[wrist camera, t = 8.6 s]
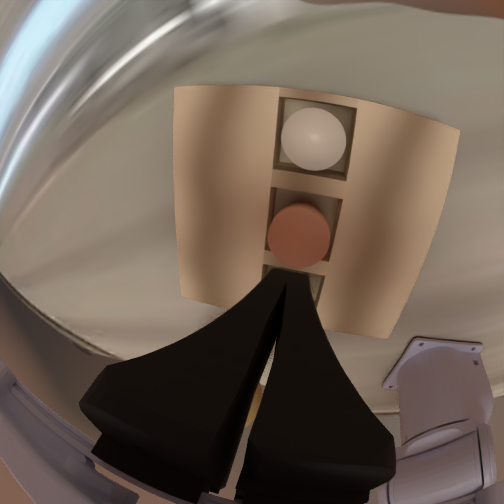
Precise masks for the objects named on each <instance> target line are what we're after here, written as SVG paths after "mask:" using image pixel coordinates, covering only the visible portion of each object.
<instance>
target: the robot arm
mask: <svg viewBox="0 0 504 504" xmlns="http://www.w3.org/2000/svg"><path fill="white" fill-rule="evenodd" d="M276 337H277V339H276ZM275 340H276V345H275V352H274V358H273V363H272V366H271V370H270V373H269V377H268V380H267V383H266V386H265V390H264V393H263V396H262V399H261V402H260V405H259V408H258V411H257V414H256V417H255V420H254V423H253V426H252V429H251V432H250V435H249V437H248V443H247V448H246V453H245V459H244V464H243V467H242V471H241V473H240V476H239V479H238V482H237V485H236V494H235V497H234V501H233V500H229V499H225V498H222V497H218V496H214V495H211V494H208V493H209V491H210V492H213V493H216V494H218V493H219V491H220V489H222V488H224V487H225V486H226V483H227V480H228V477H229V474H230V471H231V468H232V465H233V462H234V459H235V455H236V452H237V449H238V446H239V443H240V440H241V437H242V433H243V430H244V427H245V424H246V421H247V417H248V414H249V411H250V408H251V404H252V401H253V398H254V394H255V392H256V389H257V386H258V383H259V381H260V379H261V376H262V374H263V371H264V369H265V366H266V364H267V361H268V358H269V356H270V353H271V351H272V348H273V345H274V343H275ZM482 349H483V345H482V344H479V343H466V342H454V341H444V340H434V339H425V338H415V339H413V340H412V341H411V343H410V345H409V346H408V348H407V349H406V351H405V353H404V354H403V356H402V357H401V359H400V360H399V362H398V363H397V365H396V366H395V367H394V369H393V370H392V372H391V373H390V375H389V376H388V377H387V379H386V380H385V381H384V383H383V385H382V386H383V388H384V389H394V390H398V396H399V410H400V431H401V446H400V447H398V448H395V443H394V437H393V435H392V434H391V433H390V432H389V431H388V430H387V429H386V428H385V426H384V425H383V424H382V423H381V422H380V421H379V420H378V418H377V417H376V416H375V415H374V414H373V412H372V411H371V410H370V409H369V407H368V406H367V405H366V403H365V402H364V400H363V399H362V398H361V396H360V395H359V393H358V392H357V390H356V389H355V387H354V386H353V384H352V383H351V381H350V380H349V378H348V376H347V375H346V373H345V372H344V370H343V368H342V366H341V365H340V363H339V361H338V359H337V357H336V355H335V353H334V351H333V349H332V347H331V345H330V343H329V341H328V339H327V336H326V334H325V332H324V329H323V327H322V324H321V321H320V319H319V316H318V313H317V310H316V307H315V303H314V300H313V296H312V292H311V287H310V279H309V276H308V275H307V274H302V273H297V272H292V271H286V270H281V269H276V268H273V269H271V270H270V271H269V272H268V273H267V274H266V276H265V277H264V278H263V279H262V280H261V281H260V282H259V283H258V284H257V285H256V286H255V287H254V288H253V289H252V290H251V291H250V292H249V293H248V294H247V295H246V296H245V297H244V298H242V299H241V300H240V301H239V302H238V303H236V304H235V305H234V306H233V307H231V308H230V309H229V310H228V311H226V312H225V313H224V314H222V315H221V316H220V317H218V318H217V319H215V320H214V321H212V322H211V323H209V324H208V325H206V326H205V327H203V328H201V329H200V330H198V331H196V332H194V333H192V334H191V335H189V336H187V337H185V338H183V339H181V340H179V341H177V342H175V343H173V344H170V345H168V346H166V347H163V348H161V349H159V350H156V351H154V352H151V353H149V354H146V355H143V356H140V357H137V358H133V359H130V360H126V361H123V362H119V363H115V364H112V365H107V366H106V367H105V368H104V370H103V371H102V372H101V373H100V374H99V375H98V376H97V378H96V379H95V380H94V382H93V383H92V385H91V386H90V388H89V389H88V390H87V392H86V393H85V394H84V396H83V397H82V399H81V400H80V402H79V406H80V409H81V411H82V412H83V413H84V414H85V415H86V417H87V418H88V419H89V420H90V421H91V422H92V423H93V424H94V425H95V426H96V427H97V428H98V429H99V430H100V431H101V432H102V435H101V436H100V438H99V439H98V441H97V442H96V441H94V440H93V439H91V438H89V437H88V436H86V435H85V434H83V433H82V432H80V431H79V430H78V429H76V428H75V427H73V426H72V425H70V424H69V423H68V422H66V421H65V420H64V419H62V418H61V417H60V416H59V415H57V414H56V413H54V412H53V411H52V410H51V409H50V408H48V407H47V406H46V405H45V404H44V403H43V402H41V401H40V400H39V399H38V398H37V397H35V396H34V395H33V394H32V393H31V392H30V391H29V390H28V389H27V388H26V387H25V386H23V384H22V383H20V382H19V381H18V380H17V378H16V376H15V375H14V374H13V372H12V371H11V370H10V369H9V367H8V366H7V365H6V364H5V363H4V362H3V361H2V360H1V358H0V457H1V459H2V460H3V462H4V463H5V465H6V466H7V468H8V469H9V471H10V472H11V474H12V475H13V476H14V478H15V479H16V481H17V482H18V483H19V485H20V486H21V487H22V488H23V490H24V491H25V492H26V493H27V495H28V496H29V497H30V498H31V499H32V501H33V502H34V503H35V504H136V503H137V500H138V499H139V495H138V494H137V493H135V492H133V491H131V490H129V489H127V488H125V487H124V486H122V485H120V484H118V483H116V482H115V481H113V480H111V479H109V478H107V477H106V476H104V475H102V474H101V473H99V472H98V471H96V469H95V464H94V462H95V463H97V464H99V465H100V466H102V467H103V468H105V469H107V470H109V471H110V472H112V473H114V474H115V475H117V476H119V477H121V478H123V479H124V480H126V481H128V482H130V483H132V484H134V485H136V486H138V487H140V488H142V489H144V490H146V491H148V492H150V493H152V494H155V495H157V496H159V497H161V498H164V499H166V500H169V501H171V502H173V503H176V504H364V503H367V502H368V500H369V493H370V490H371V489H374V488H376V487H378V502H379V504H504V480H502V481H500V482H497V483H496V479H497V471H496V459H495V451H494V443H493V437H492V431H491V426H490V425H488V424H487V422H488V421H489V419H490V416H491V413H492V408H493V395H492V390H491V387H490V384H489V380H488V377H487V374H486V371H485V368H484V365H483V362H482V359H481V356H480V354H479V353H480V352H481V351H482ZM93 461H94V462H93ZM462 497H463V498H462Z"/></svg>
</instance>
